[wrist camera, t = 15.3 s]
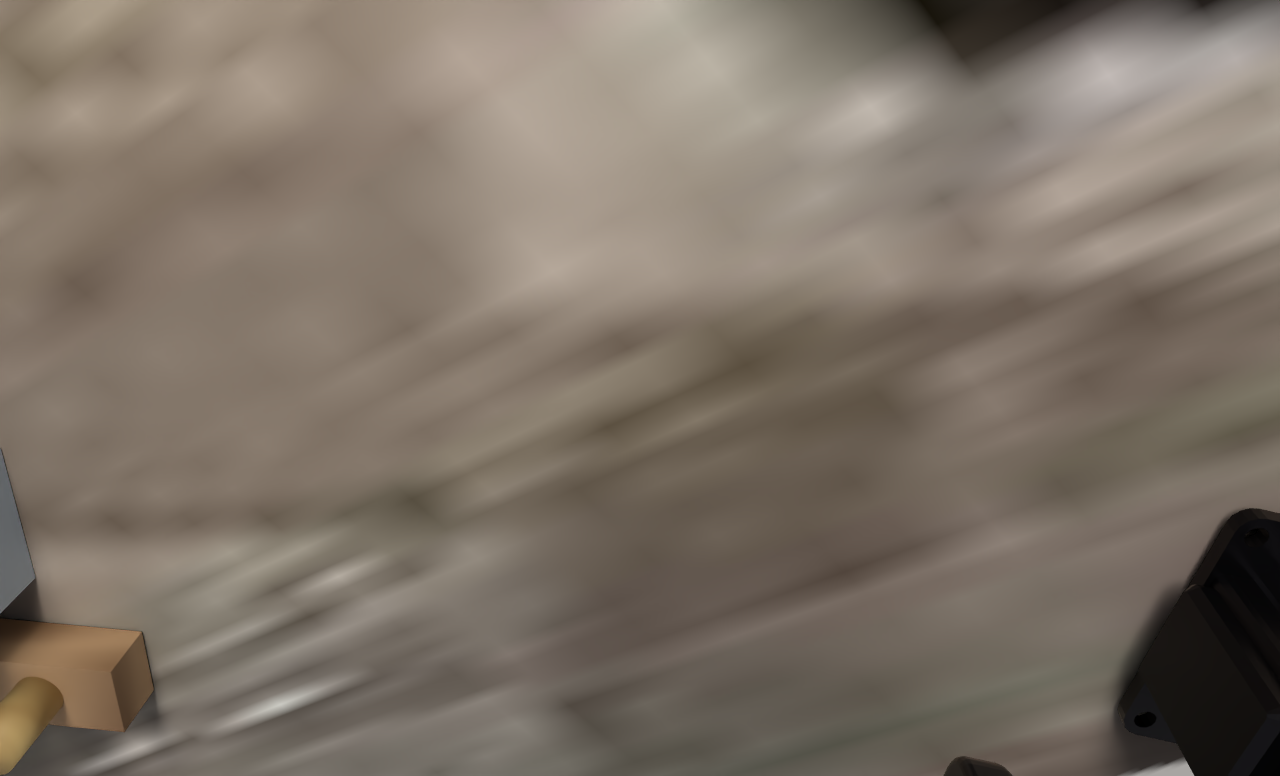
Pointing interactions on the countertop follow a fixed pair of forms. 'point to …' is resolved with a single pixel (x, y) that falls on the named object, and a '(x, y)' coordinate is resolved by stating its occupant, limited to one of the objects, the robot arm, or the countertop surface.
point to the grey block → (11, 545)
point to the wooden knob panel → (67, 681)
